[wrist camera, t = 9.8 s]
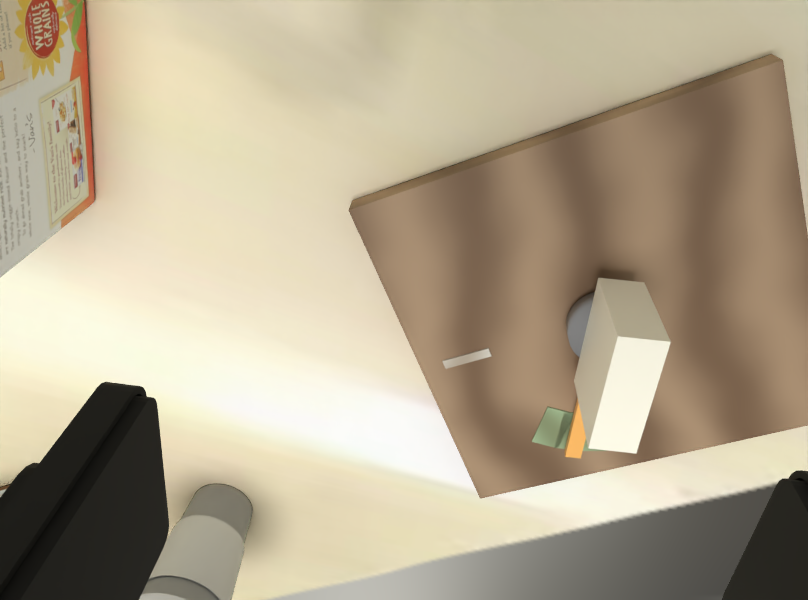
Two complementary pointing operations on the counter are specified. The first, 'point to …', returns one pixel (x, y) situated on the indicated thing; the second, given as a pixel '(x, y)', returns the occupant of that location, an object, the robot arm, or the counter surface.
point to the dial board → (608, 274)
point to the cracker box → (42, 123)
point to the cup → (203, 548)
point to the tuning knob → (614, 365)
